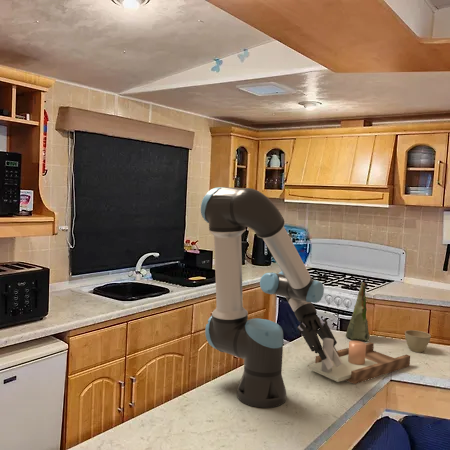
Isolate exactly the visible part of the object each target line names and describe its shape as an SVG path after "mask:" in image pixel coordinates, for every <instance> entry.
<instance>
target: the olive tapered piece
mask: <svg viewBox="0 0 450 450" xmlns="http://www.w3.org/2000/svg"><path fill="white" fill-rule="evenodd" d="M366 305H367V299H366V283H365V282H363V281H362V282H361V283H360V286H359V290H358V294H357V296H356V301H355V305H354V309H353V312H352V314H351V318H350V320H349V324H348V326H347V330H346V333H345V337H346V338H348V339H350V341H353V340H358V341H365V342H368V341H369V340H370V333H369V323H368V322H369V321H368V319H367V306H366Z"/></svg>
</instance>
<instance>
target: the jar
mask: <svg viewBox="0 0 450 450" xmlns="http://www.w3.org/2000/svg"><path fill="white" fill-rule="evenodd" d="M348 348H349V353H348V362H350V363H352V364H357V365H362V364H365V355H366V342H364V341H363V340H350V341H348Z"/></svg>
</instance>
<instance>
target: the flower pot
mask: <svg viewBox="0 0 450 450" xmlns="http://www.w3.org/2000/svg"><path fill="white" fill-rule="evenodd" d="M404 337H405V342H406V344H407V346H408V349H409V350H410V351H412V352H415V353H422V352H424V351H425V350H426V348H427V347H428V345H429V343H430V342H431V341H430V340H431V334H430V333H428V332H426V331H422V330H414V329H413V330H412V329H409V330H405V331H404Z"/></svg>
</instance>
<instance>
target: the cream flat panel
mask: <svg viewBox="0 0 450 450" xmlns="http://www.w3.org/2000/svg"><path fill="white" fill-rule="evenodd" d="M333 343H334V340H333V339H331V338H323V341H322V349H324V348H325V350H326V352H327V353H328V355H329V357H330V359H331V361H332V362H333ZM340 359H341V361H342V363H343V364H341V365H340V366H339V367H336V365H335V363H334V362H333V364H334V366H333V367H332V368H331V369H330V370H328V369H327V367H326V365H325V363H324V361H323V360H322V362H319V363H315V362H314V363H312V364H308V365H307V366H308V367H307V369H308V370H310V371H313V372H315V373H317V374H319V375H322V376H324V377H326V378H328V379H330V380H332V381H335V382H337V383H339V382H343V381H346V379H349V378H351V371H354V370H357V369H360V368H364V367H367V366H370V365H374V364H377V363H376V362H373V361H371V360H368V359H366V358H365V364H362V365H357V364H352V363H350V362H348V355H345V356H341V357H340Z"/></svg>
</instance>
